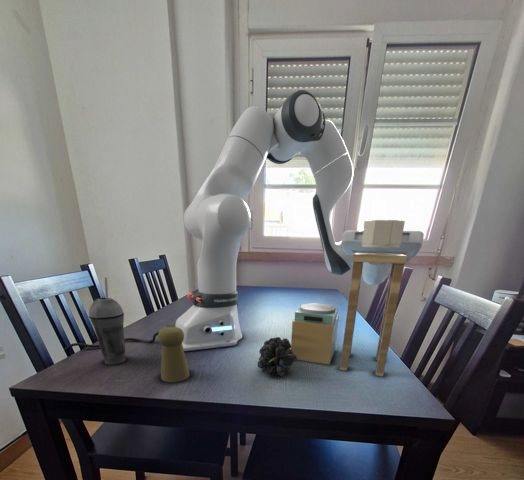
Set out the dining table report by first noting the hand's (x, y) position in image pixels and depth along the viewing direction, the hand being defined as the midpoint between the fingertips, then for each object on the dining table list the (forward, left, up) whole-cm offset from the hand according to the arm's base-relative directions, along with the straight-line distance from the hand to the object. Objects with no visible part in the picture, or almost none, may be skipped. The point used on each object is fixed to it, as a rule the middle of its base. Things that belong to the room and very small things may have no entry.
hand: (383, 225), depth 69 cm
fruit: (-30, +2, -32) cm, 44 cm away
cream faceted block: (-5, -3, -5) cm, 7 cm away
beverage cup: (-62, +26, -32) cm, 74 cm away
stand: (-10, -7, -32) cm, 35 cm away
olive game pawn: (-52, +10, -32) cm, 62 cm away
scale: (-16, +4, -32) cm, 36 cm away
